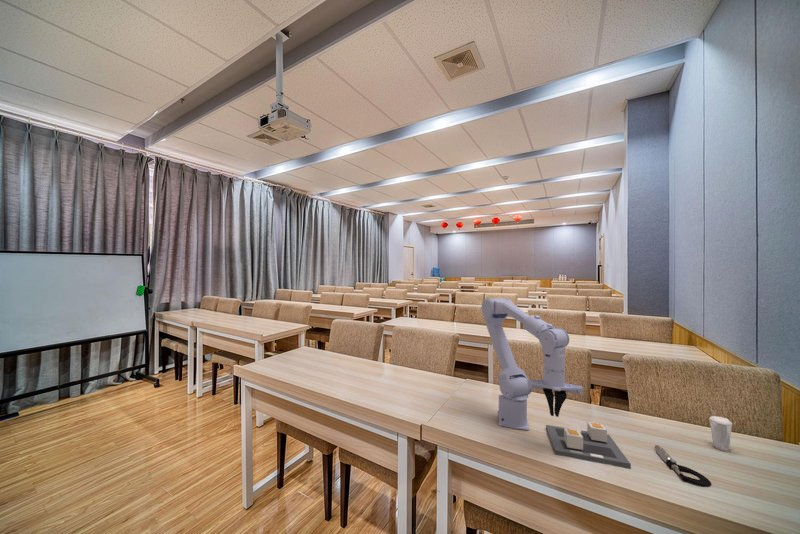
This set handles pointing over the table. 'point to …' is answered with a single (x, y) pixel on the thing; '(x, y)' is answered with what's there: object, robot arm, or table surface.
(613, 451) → the switch plate
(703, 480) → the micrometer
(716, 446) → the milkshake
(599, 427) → the white orange block
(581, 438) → the white orange cube
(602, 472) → the table surface
